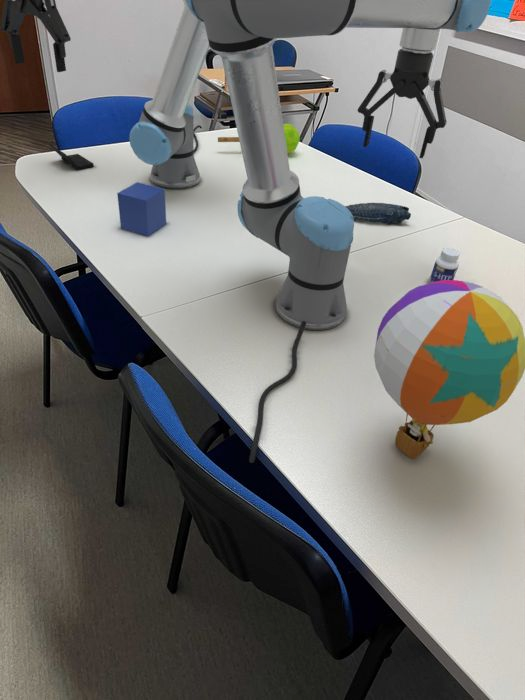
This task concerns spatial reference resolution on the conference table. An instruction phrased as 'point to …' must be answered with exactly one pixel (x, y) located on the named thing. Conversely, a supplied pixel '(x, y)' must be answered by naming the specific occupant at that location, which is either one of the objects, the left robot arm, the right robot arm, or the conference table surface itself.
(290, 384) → the conference table surface
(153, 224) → the block
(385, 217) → the fish model
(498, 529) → the conference table surface
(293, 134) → the decorative tree
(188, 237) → the conference table surface
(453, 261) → the pill bottle
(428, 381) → the toy
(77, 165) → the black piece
